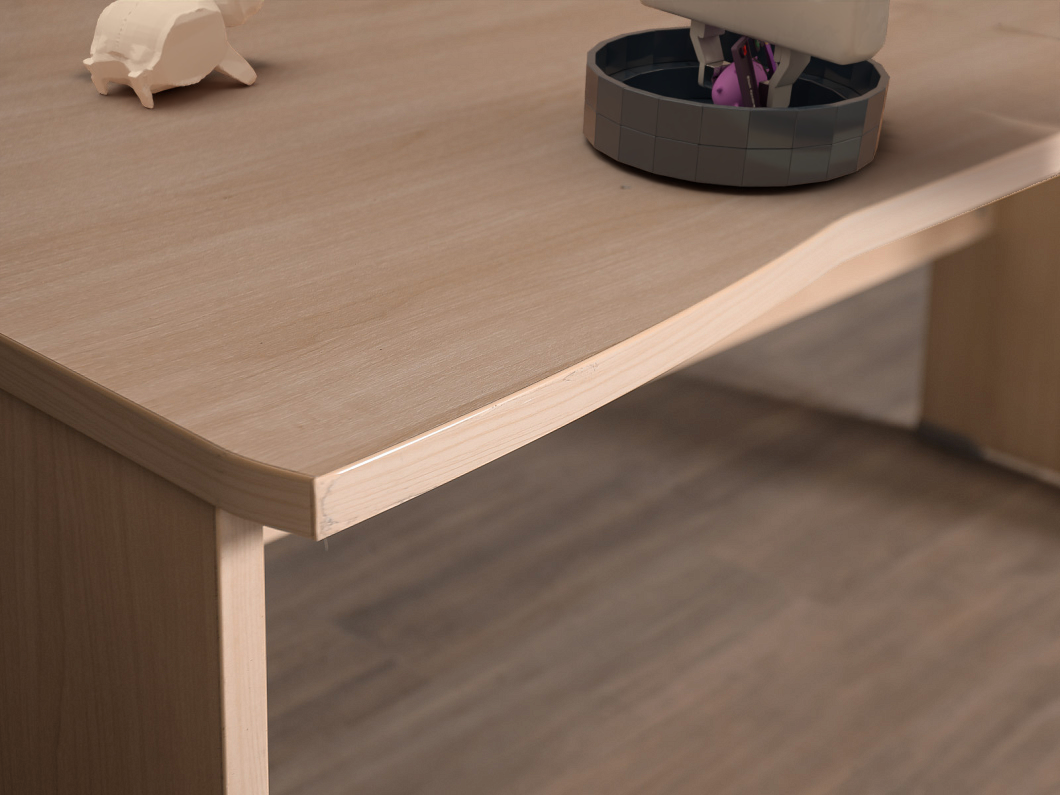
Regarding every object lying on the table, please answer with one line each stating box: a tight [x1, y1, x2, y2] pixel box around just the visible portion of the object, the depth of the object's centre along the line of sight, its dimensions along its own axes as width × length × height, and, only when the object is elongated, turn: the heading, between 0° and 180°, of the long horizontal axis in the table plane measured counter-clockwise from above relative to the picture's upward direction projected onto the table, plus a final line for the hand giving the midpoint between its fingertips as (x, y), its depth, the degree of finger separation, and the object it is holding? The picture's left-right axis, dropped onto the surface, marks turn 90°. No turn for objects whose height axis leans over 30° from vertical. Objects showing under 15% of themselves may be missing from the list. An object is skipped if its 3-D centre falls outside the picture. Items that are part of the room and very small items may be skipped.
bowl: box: [582, 25, 891, 188], centre depth 85 cm, size 20×20×6 cm
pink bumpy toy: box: [712, 36, 778, 108], centre depth 85 cm, size 7×5×9 cm
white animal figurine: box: [82, 0, 265, 109], centre depth 93 cm, size 9×8×15 cm
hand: (741, 97), depth 86 cm, fingers closed on pink bumpy toy, 4 cm apart
